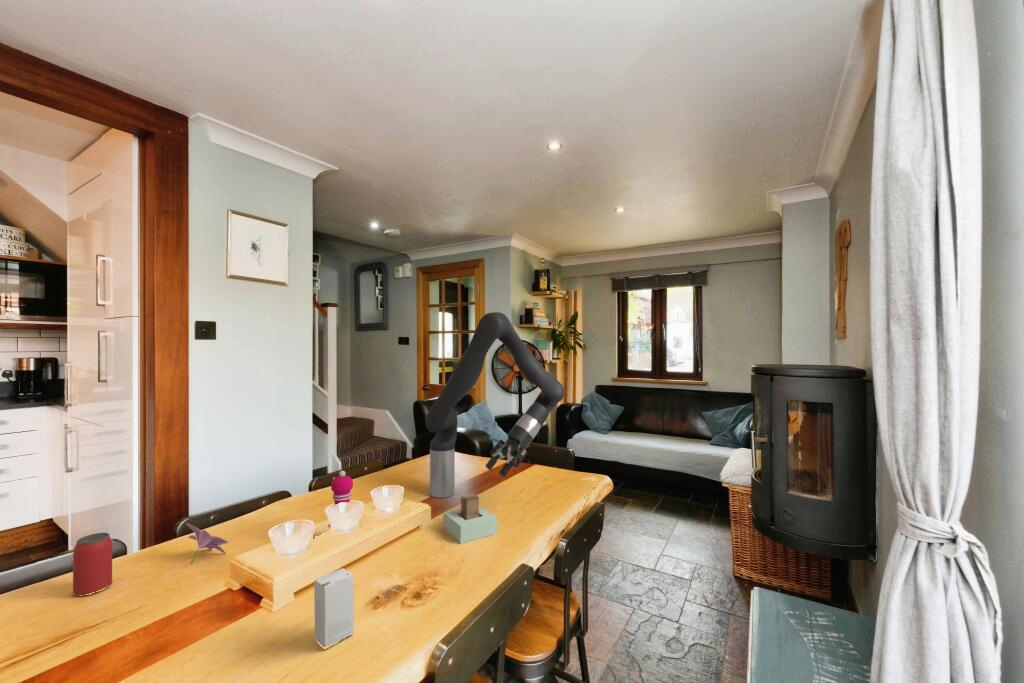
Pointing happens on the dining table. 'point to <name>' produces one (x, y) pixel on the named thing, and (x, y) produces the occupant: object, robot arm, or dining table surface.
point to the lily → (206, 540)
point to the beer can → (92, 563)
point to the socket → (470, 525)
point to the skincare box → (334, 607)
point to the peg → (469, 506)
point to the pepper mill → (342, 488)
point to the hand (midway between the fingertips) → (494, 471)
